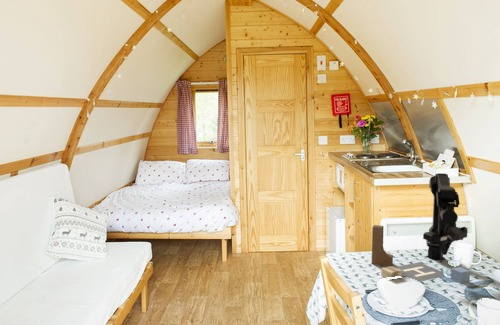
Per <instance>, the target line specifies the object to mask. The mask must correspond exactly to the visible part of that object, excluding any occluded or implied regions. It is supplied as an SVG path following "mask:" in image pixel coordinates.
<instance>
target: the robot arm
mask: <svg viewBox="0 0 500 325" xmlns="http://www.w3.org/2000/svg"><path fill="white" fill-rule="evenodd" d="M428 187H429V189H430V192H431V193H432V196H433V208H432V210H433V211H432V225H431V227H430V228H429V229H428V231H427V232H426V231H425V232H424V233H423V234H422V236H423V237H422V239H423V240H426V241H425V242H426V243H425V244H426V247H428V248H427V255H426V256H425V257H426V258H428V259H430V260H432V261H433V260H434V261H441V260H442V261H443V260H446V257H444V256H446V255H447V254H448V251H449V249H450V247H451V245H452V244H453V243H454V242H455V241H456V242H458V241H463V240H464V238H468V228H467V227H466V226H461V227H459V226H457V222H458V218H459V216H458V214H457V212H456V211H455V208H459V206H460V197H459V196H460V195H459V194H458V192H457V190H456V188H455V187H453V186H451V178H450V177H449V174H448V173H439V172H438V173H435V175H433V176H431V177H430V179H429V181H428Z"/></svg>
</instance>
